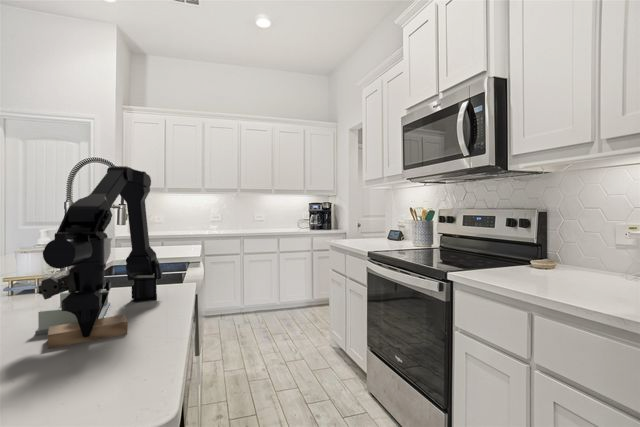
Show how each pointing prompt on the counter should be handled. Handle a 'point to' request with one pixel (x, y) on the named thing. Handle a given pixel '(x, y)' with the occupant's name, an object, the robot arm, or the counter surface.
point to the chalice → (107, 249)
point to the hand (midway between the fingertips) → (89, 331)
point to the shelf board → (100, 330)
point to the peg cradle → (61, 316)
